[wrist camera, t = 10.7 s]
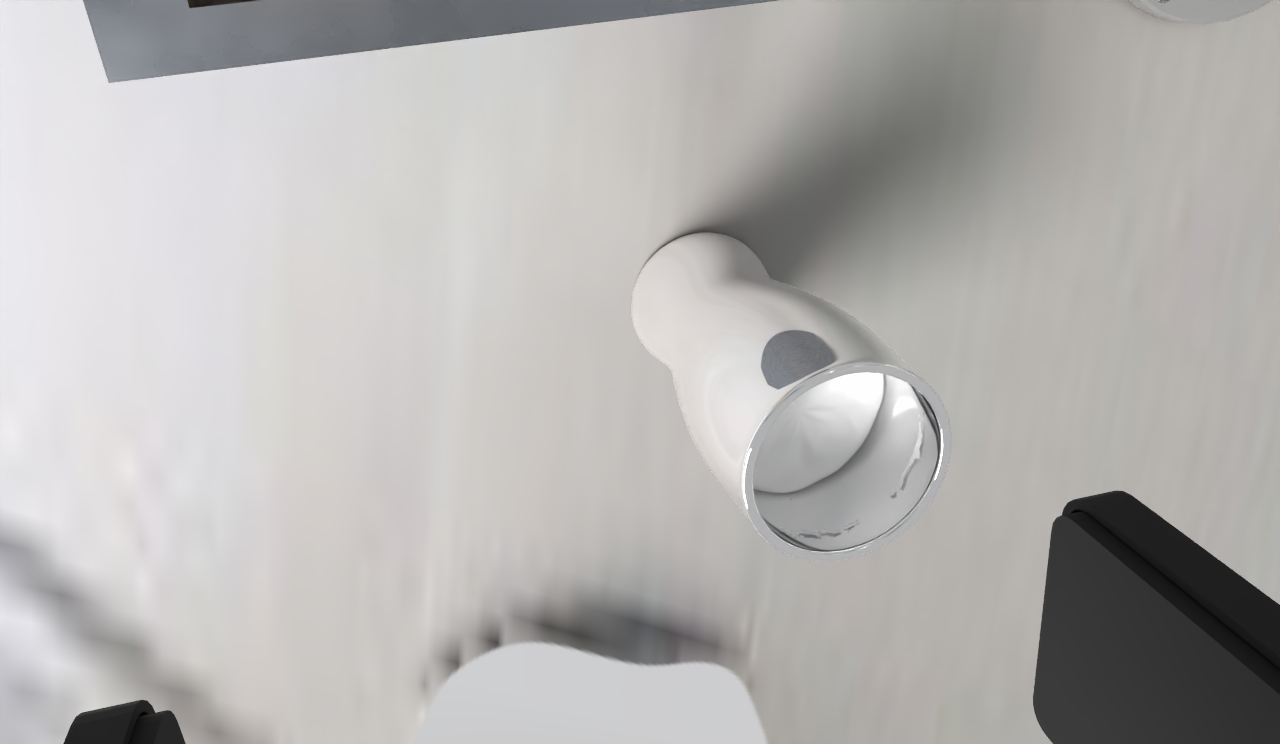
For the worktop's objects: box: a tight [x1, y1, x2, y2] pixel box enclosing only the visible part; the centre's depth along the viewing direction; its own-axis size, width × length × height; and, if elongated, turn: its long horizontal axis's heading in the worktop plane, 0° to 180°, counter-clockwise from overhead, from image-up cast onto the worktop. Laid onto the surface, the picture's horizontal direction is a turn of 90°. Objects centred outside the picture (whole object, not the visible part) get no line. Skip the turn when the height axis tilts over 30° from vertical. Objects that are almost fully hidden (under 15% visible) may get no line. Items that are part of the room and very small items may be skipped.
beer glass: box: [631, 232, 951, 562], centre depth 35 cm, size 7×7×15 cm
